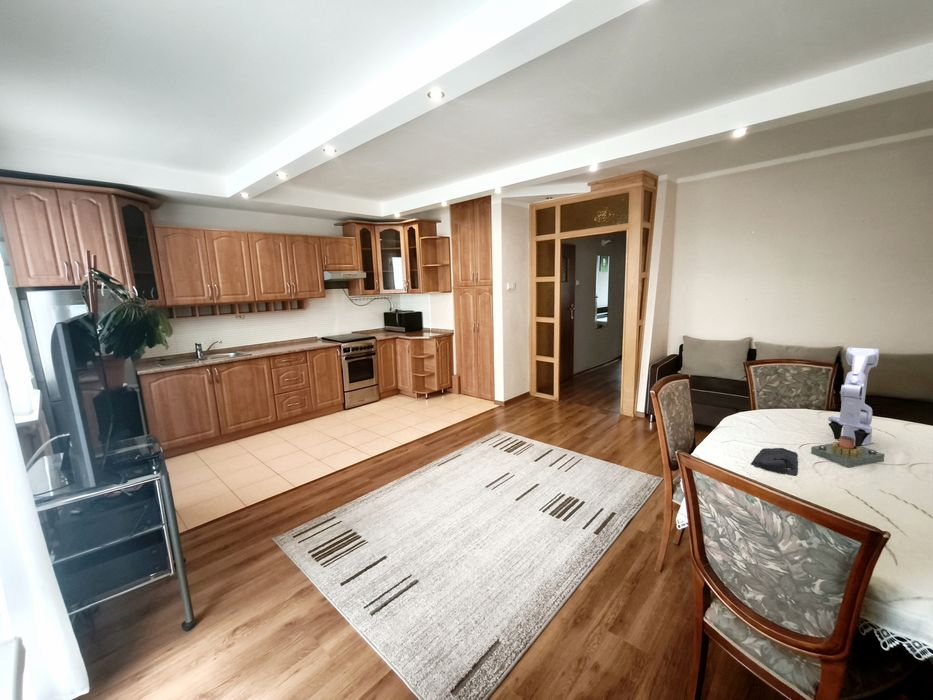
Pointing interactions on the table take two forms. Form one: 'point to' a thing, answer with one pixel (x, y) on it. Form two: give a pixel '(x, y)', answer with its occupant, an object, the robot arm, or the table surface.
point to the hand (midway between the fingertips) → (847, 442)
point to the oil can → (846, 442)
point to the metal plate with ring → (847, 454)
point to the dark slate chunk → (777, 460)
